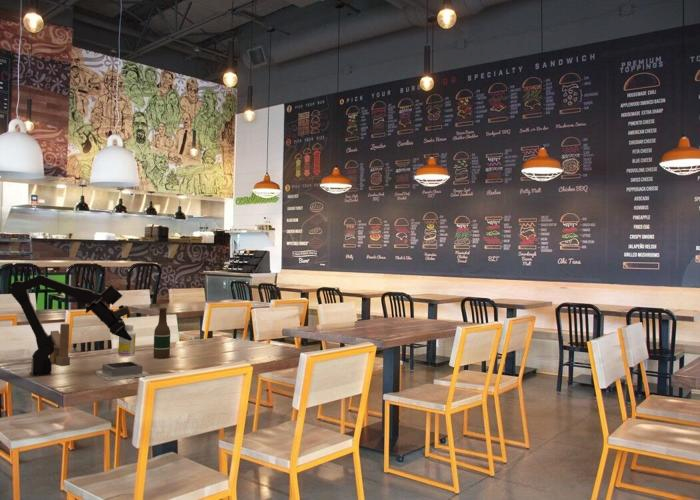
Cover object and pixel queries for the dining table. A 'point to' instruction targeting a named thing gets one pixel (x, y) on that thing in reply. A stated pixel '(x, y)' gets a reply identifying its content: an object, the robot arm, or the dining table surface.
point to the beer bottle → (162, 336)
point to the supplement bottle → (127, 343)
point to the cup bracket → (121, 371)
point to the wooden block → (61, 346)
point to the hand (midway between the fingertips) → (130, 338)
